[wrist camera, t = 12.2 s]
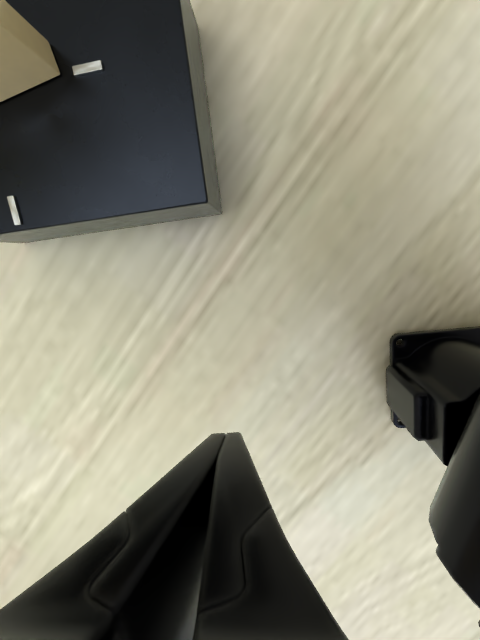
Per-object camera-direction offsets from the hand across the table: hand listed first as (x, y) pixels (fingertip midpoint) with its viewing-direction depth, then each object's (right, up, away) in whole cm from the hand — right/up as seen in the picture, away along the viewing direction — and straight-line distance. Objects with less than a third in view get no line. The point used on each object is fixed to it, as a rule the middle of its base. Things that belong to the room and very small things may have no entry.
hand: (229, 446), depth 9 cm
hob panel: (-9, +16, +10) cm, 21 cm away
